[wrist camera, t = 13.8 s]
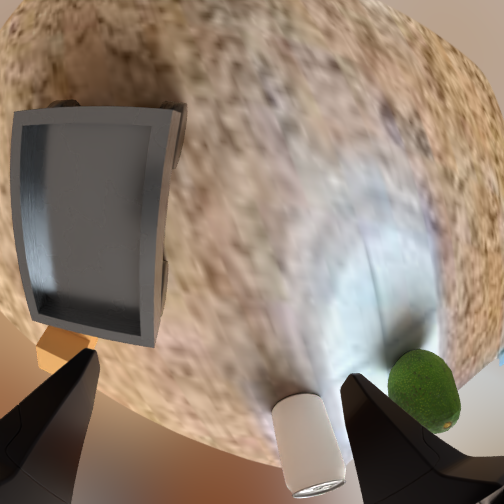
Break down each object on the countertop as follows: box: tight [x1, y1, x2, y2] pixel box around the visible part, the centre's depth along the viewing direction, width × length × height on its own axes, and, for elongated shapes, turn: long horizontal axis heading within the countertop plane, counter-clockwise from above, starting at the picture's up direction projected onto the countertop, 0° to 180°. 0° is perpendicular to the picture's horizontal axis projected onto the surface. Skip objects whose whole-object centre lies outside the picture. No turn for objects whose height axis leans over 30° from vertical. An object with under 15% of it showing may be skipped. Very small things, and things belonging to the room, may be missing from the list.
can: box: [272, 393, 346, 498], centre depth 25 cm, size 6×6×12 cm
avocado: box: [388, 349, 461, 434], centre depth 24 cm, size 8×8×12 cm
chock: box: [36, 325, 98, 375], centre depth 19 cm, size 6×4×6 cm, turn 154°
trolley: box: [10, 100, 187, 348], centre depth 15 cm, size 14×9×7 cm, turn 169°
